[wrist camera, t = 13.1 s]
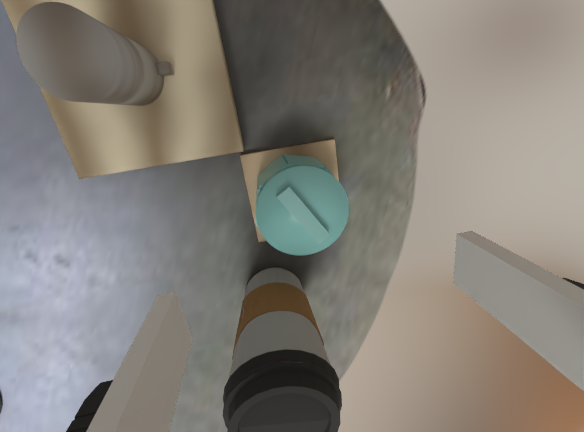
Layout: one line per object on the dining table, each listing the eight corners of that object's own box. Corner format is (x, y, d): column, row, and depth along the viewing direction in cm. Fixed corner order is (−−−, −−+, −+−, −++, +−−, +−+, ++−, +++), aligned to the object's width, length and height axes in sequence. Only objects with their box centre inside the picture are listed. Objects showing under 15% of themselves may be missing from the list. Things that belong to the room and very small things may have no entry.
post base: (92, 174, 25) (-5, 209, 16) (15, -12, 20) (-191, -118, 11) (244, 148, 26) (235, 168, 17) (205, -38, 21) (162, -157, 12)
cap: (240, 189, 27) (234, 212, 20) (300, 138, 26) (313, 147, 19) (289, 241, 29) (297, 276, 23) (345, 196, 28) (370, 220, 22)
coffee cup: (235, 257, 30) (215, 384, 16) (312, 256, 31) (355, 375, 17) (237, 320, 33) (221, 475, 19) (307, 317, 34) (341, 462, 20)
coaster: (258, 239, 29) (258, 242, 29) (240, 154, 26) (239, 155, 26) (341, 224, 30) (342, 226, 29) (333, 139, 27) (334, 139, 26)
